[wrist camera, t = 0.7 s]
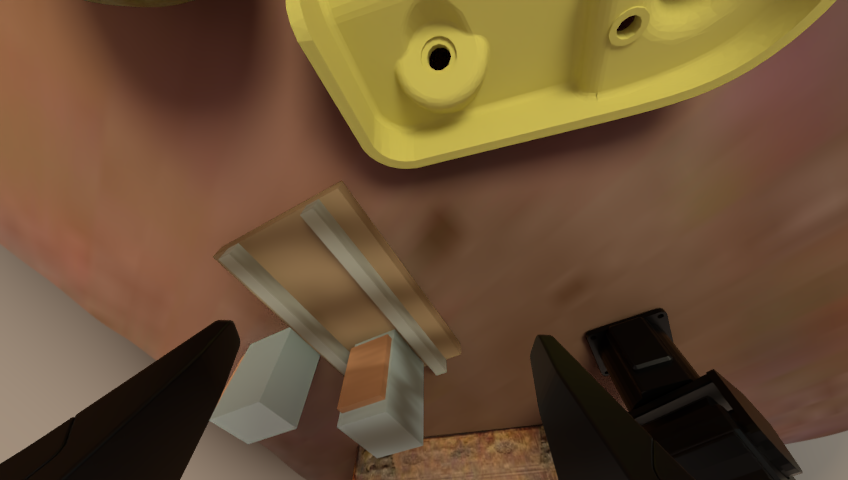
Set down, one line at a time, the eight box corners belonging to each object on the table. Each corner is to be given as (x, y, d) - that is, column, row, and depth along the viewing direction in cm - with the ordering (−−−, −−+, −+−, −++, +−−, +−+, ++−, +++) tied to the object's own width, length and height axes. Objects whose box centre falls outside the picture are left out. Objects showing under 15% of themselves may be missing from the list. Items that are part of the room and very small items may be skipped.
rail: (460, 343, 30) (470, 436, 23) (360, 378, 33) (343, 471, 26) (341, 180, 22) (302, 252, 15) (221, 247, 25) (142, 333, 18)
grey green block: (275, 370, 33) (242, 446, 27) (245, 346, 31) (203, 422, 25) (321, 352, 31) (296, 428, 25) (292, 326, 29) (258, 401, 23)
